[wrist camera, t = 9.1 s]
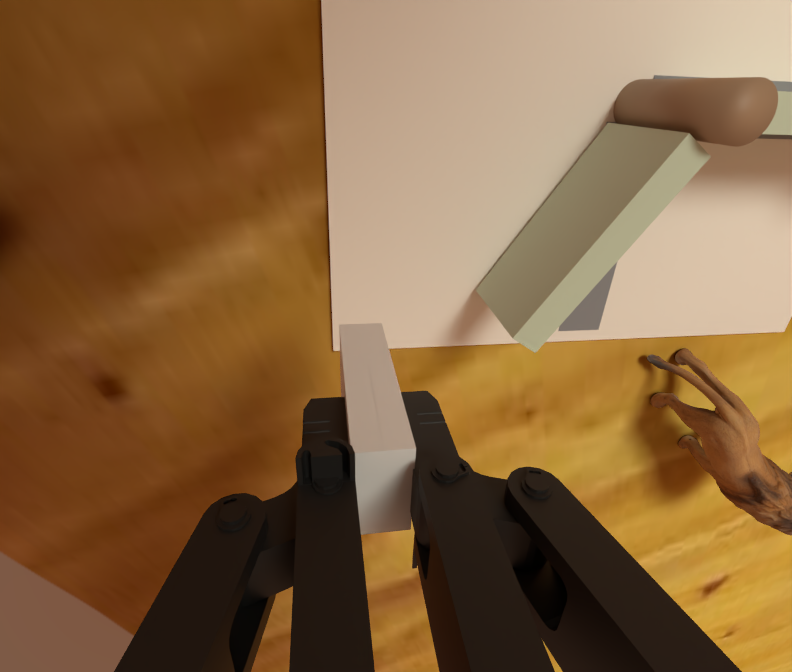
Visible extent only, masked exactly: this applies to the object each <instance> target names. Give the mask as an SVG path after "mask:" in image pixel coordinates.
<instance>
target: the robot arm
mask: <svg viewBox="0 0 792 672" xmlns="http://www.w3.org/2000/svg"><path fill="white" fill-rule="evenodd" d="M339 332H340V369H341V395H342V397H333V398H317V399H311V400H310V401H309V403H308V404H307V406H306V407H305V409H304V413H303V436H302V447H301V448H300V449H299V450H298V452H297V455H296V458H295V459H296V470H297V482H296V483H295V484H294V485H293V487H292V488H291V489H289V490H288V491H286V492H285V493H283V494H281V495H279V496H277V497H274V498H272V499H269V500H266V501H263V502H262V501H261V500H260V499H259V498H258V497H256V496H254V495H250V494H247V493H241V494H232V495H229V496H226V497H223V498H221V499H219V500H218V501H216V502H215V503H213V504H212V505H211V506H210V507H209V508H208V509H207V511H206V512H205V513H204V514H203V516H202V518H201V520H200V521H199V523H198V525H197V527H196V528H195V530H194V532H193V534H192V535H191V537H190V539H189V541H188V543H187V544H186V546H185V548H184V550H183V551H182V553H181V555H180V557H179V558H178V560H177V562H176V564H175V565H174V567H173V569H172V571H171V572H170V574H169V576H168V578H167V579H166V581H165V583H164V585H163V586H162V588H161V590H160V592H159V594H158V595H157V597H156V599H155V601H154V602H153V604H152V606H151V608H150V609H149V611H148V613H147V615H146V616H145V618H144V620H143V622H142V623H141V625H140V627H139V629H138V630H137V632H136V634H135V636H134V638H133V639H132V641H131V643H130V645H129V646H128V648H127V650H126V652H125V653H124V655H123V657H122V659H121V660H120V662H119V664H118V666H117V667H116V669H115V671H114V672H251V669H252V666H253V663H254V660H255V657H256V654H257V651H258V648H259V645H260V642H261V639H262V636H263V633H264V630H265V627H266V624H267V621H268V618H269V615H270V612H271V609H272V606H273V603H274V600H275V596H276V594H277V593H279V592H281V591H283V590H286V589H288V588H290V587H292V586H293V603H292V625H291V646H290V668H289V672H375V670H374V660H373V650H372V640H371V630H370V620H369V610H368V600H367V591H366V581H365V571H364V561H363V551H362V541H361V535H362V534H371V533H381V532H390V531H400V530H410V529H411V517H412V522H413V527H414V531H415V535H414V548H413V564H412V568H417V565H418V570H419V575H420V580H421V585H422V589H423V594H424V599H425V604H426V609H427V614H428V618H429V623H430V628H431V633H432V638H433V642H434V647H435V652H436V657H437V662H438V667H439V671H440V672H555V671H554V668H553V666H552V663H551V661H550V659H549V656H548V654H547V651H546V649H545V646H544V644H543V641H544V643H545V645H546V646H547V648H548V649H549V651H550V652H551V654H552V655H553V657H554V658H555V660H556V662H557V663H558V665H559V666H560V668H561V669H562V671H563V672H742V671H741V670H740V669H739V668H738V667H737V666H736V665H735V664H734V663H733V662H732V661H731V660H730V659H729V658H728V657H727V656H726V655H725V654H724V653H723V652H722V650H721V649H720V648H719V647H718V646H717V645H716V644H715V643H714V642H713V641H712V640H711V639H710V638H709V637H708V636H707V635H706V634H705V633H704V632H703V631H702V630H701V628H700V627H699V626H698V625H697V624H696V623H695V622H694V621H693V620H692V619H691V618H690V617H689V616H688V615H687V614H686V613H685V612H684V611H683V610H682V609H681V608H680V606H679V605H678V604H677V603H676V602H675V601H674V600H673V599H672V598H671V597H670V596H669V595H668V594H667V593H666V592H665V591H664V590H663V589H662V588H661V587H660V585H659V584H658V583H657V582H656V581H655V580H654V579H653V578H652V577H651V576H650V575H649V574H648V573H647V572H646V571H645V570H644V569H643V568H642V567H641V566H640V565H639V563H638V562H637V561H636V560H635V559H634V558H633V557H632V556H631V555H630V554H629V553H628V552H627V551H626V550H625V549H624V548H623V547H622V546H621V545H620V544H619V542H618V541H617V540H616V539H615V538H614V537H613V536H612V535H611V534H610V533H609V532H608V531H607V530H606V529H605V528H604V527H603V526H602V525H601V524H600V523H599V522H598V520H597V519H596V518H595V517H594V516H593V515H592V514H591V513H590V512H589V511H588V510H587V509H586V508H585V507H584V506H583V505H582V504H581V503H580V502H579V501H578V499H577V498H576V497H575V496H574V495H573V494H572V493H571V492H570V491H569V490H568V489H567V488H566V487H565V486H564V485H563V484H562V483H561V482H560V481H559V480H558V479H557V478H556V477H555V476H553V475H552V474H551V473H549V472H547V471H544V470H542V469H540V468H534V467H523V468H518V469H516V470H514V471H513V472H511V474H510V476H509V477H508V480H506V479H500V478H494V477H489V476H485V475H481V474H479V473H476V472H474V471H473V470H472V468H471V467H470V465H469V464H468V463H467V462H466V461H464V460H463V459H462V458H460V457H459V455H458V453H457V450H456V447H455V445H454V442H453V440H452V437H451V434H450V432H449V429H448V427H447V424H446V423H445V419H444V416H443V414H442V411H441V409H440V406H439V403H438V401H437V400H436V399H435V398H434V397H433V396H432V395H431V394H430V393H429V392H428V391H416V392H401V391H400V388H399V384H398V381H397V377H396V373H395V370H394V366H393V362H392V359H391V355H390V352H389V348H388V344H387V341H386V337H385V334H384V330H383V326H382V323H369V324H342V325H339ZM541 638H542V639H541ZM542 640H543V641H542Z"/></svg>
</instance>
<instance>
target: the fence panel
mask: <svg viewBox="0 0 792 672" xmlns="http://www.w3.org/2000/svg"><path fill="white" fill-rule="evenodd" d="M710 157H711V156H710V155H709V154H708V153H707V152H706V151H705V150H704V149H703V147H702V146H701V145H700V144H699V143H698V142H697V141H696V140H695V139H694V138H693V137H692V135H691V134H690V133H685V132H677V131H669V130H662V129H654V128H646V127H638V126H631V125H623V124H615V123H608V124H607V125H606V126H605V127H604V129H603V130H602V131H601V132H600V134H599V135H598V136H597V137H596V139H595V140H594V141H593V142H592V144H591V145H590V146H589V148H588V149H587V150H586V151H585V153H584V154H583V155H582V156H581V158H580V159H579V160H578V161H577V163H576V164H575V165H574V166H573V168H572V169H571V170H570V172H569V173H568V174H567V175H566V177H565V178H564V179H563V180H562V182H561V183H560V184H559V185H558V187H557V188H556V189H555V190H554V192H553V193H552V194H551V196H550V197H549V198H548V199H547V201H546V202H545V203H544V204H543V206H542V207H541V208H540V209H539V211H538V212H537V213H536V214H535V216H534V217H533V218H532V220H531V221H530V222H529V223H528V225H527V226H526V227H525V228H524V230H523V231H522V232H521V233H520V235H519V236H518V237H517V238H516V240H515V241H514V242H513V244H512V245H511V246H510V247H509V249H508V250H507V251H506V252H505V254H504V255H503V256H502V257H501V259H500V260H499V261H498V262H497V264H496V265H495V266H494V268H493V269H492V270H491V271H490V273H489V274H488V275H487V276H486V278H485V279H484V280H483V281H482V283H481V284H480V285H479V286H478V288H477V289H476V291H477V292H478V294H479V295H480V296H481V298H482V299H483V300H484V302H485V303H486V304H487V306H488V307H489V308H490V310H491V311H492V312H493V313H494V315H495V316H496V317H497V319H498V320H499V321H500V323H501V324H502V325H503V327H504V328H505V329H506V331H507V332H508V333H509V335H510V336H511V337H512V338H513V339H514V340H516V341H517V342H519V343H521V344H522V345H524V346H525V347H527V348H529V349H530V350H532V351H533V352H535V353H536V352H537V351H538V350H539V348H540V347H541V346H542V345H543V344H544V343H545V342H546V341H547V339H548V338H549V337H550V336H551V335H552V334H553V333H554V332H555V331H556V329H557V328H558V327H559V326H560V325H561V324H562V323H563V322H564V320H565V319H566V318H567V317H568V316H569V315H570V314H571V313H572V312H573V310H574V309H575V308H576V307H577V306H578V305H579V304H580V303H581V301H582V300H583V299H584V298H585V297H586V296H587V295H588V294H589V293H590V291H591V290H592V289H593V288H594V287H595V286H596V285H597V284H598V282H599V281H600V280H601V279H602V278H603V277H604V276H605V275H606V274H607V272H608V271H609V270H610V269H611V268H612V267H613V266H614V265H615V263H616V262H617V261H618V260H619V259H620V258H621V257H622V256H623V255H624V253H625V252H626V251H627V250H628V249H629V248H630V247H631V246H632V244H633V243H634V242H635V241H636V240H637V239H638V238H639V237H640V236H641V234H642V233H643V232H644V231H645V230H646V229H647V228H648V227H649V225H650V224H651V223H652V222H653V221H654V220H655V219H656V218H657V217H658V215H659V214H660V213H661V212H662V211H663V210H664V209H665V208H666V206H667V205H668V204H669V203H670V202H671V201H672V200H673V199H674V198H675V196H676V195H677V194H678V193H679V192H680V191H681V190H682V189H683V187H684V186H685V185H686V184H687V183H688V182H689V181H690V180H691V179H692V177H693V176H694V175H695V174H696V173H697V172H698V171H699V170H700V168H701V167H702V166H703V165H704V164H705V163H706V162H707V161H708V159H709V158H710Z"/></svg>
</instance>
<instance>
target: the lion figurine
mask: <svg viewBox="0 0 792 672" xmlns="http://www.w3.org/2000/svg"><path fill="white" fill-rule="evenodd" d="M647 360H648V361H649V362H650V363H652V364H654V365H655V366H656V367H658V368H660V369H664V370H668V371H671V372H673V373H675V374H677V375H679V376H681V377H682V378H684V379H685V380H687V381H688V382H689V383H691V384H692V385H694V386H695V387H696V388H697V389H698V390H700V391H701V392H702V393H703V394H704V395H705V396H706V397H707V398H708V399H709V400H710V401H711V402H712V403H713V404H714V405H715V406H716V408H715V411H711V410H708V409H703V408H696V407H693V406H690V405H687V404H684V403H683V402H681V401H680V400H679V399H678V397H677V396H675V395H674V394H673V393H657V394H655V395H654V396H653V397H652V398H651V405H652V406H654V407H657V408H660V407H664V406H665V405H666V404H667V405H669V406H670V407H671V408H672V409H673V410H674V411H675V412H676V414H677V415H678V416H679V417H680V418H681V420H682V421H683V422H684V423H685V424H686V425H687V426H688V427H689V428H691V429H693V430H694V431H695V432H696V433H697V434H698V435H699V436H700V437H701V438H702V439H701V441H702V446H703V448H702V447H701V446H700V444H699V442H698V441H697V439H696V438H693V437H692V436H690V435H688V436H684V437H682V438H681V440H680V441H679V443H678V444H679V446H680V447H681V448H688V449H689V450H690V452H691V453H692V455H693V456H694V458H695V459H696V460H697V461H698V462H699V464H700V465H701V467H702V468H703V469H704V470H706V471H707V472H708V473H710V474H711V475H712V476H713V478H714V479H715V480H716V483H717V485H718V486H719V488H720V490H721V492H722V493H723V494H724V495H725V497H726V498H727V499H729V500H730V501H731V502H733V503H734V504H735V506H737V507H738V508H740V509H743V510H745V511H746V512H747V513H749V514H750V515H751V516H753V517H754V518H755V519H756V520H757V521H759V522H761V523H763V524H766V525H769V526H771V527H772V528H774V529H777V530H779V531H781V532H783V533H785V534H788V535H792V472H791V473H789V474H788V473H786V472H785V471H784V470H781V469H780V468H779V467H778V466H777V465H776V464H775V463H774V462H773V461H772V460H770V459H768V458H767V457H766V456H764V455H763V454H762V453H761V450H760V448H759V447H758V445H757V443H758V441H759V436H760V430H759V424H758V422H757V420H756V419H755V417H754V416H753V415H752V413H751V412H750V410H749V409H748V408H747V406H746V405H745V404H744V403H743V401H742V400H741V399H740V398H739V397H738V396H737V395H735V394H734V393H733V392H731V391H730V390H729V389H728V388H727V387H725V386H724V385H723V384H722V383H721V382H720V381H719V380H718V379H717V378H716V377H715V376H714V375H713V374H712V372H711V371H710V370H709V369H708V367H707V365H706V364H705V363H704V362H703V361H701V360H699V359H698V358H696V357H695V356H693V355H692V353H691V352H690V351H689V350H688V349H686V348H684V349H682V350H680V351H679V352H678V353H677V354H676V356H675V360H676V361H677V363H679V364H680V365H688V366H689V367H690V368H691V369H692V370H693V371H694V372H695V373H696V374H697V375H698V376H699V377H700V378H701V379H702V380H703V381H704V382H705V383H704V382H703V381H702V380H701V379H699V378H698V377H697V376H695V375H693V374H692V373H690V372H688V371H686V370H684V369H682V368H680V367H678V366H676V365H673V364H670V363H668V362H666V361H664V360H662V359H661V358H660V357H659V356H655V355H649V356H648V357H647Z"/></svg>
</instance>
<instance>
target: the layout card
mask: <svg viewBox="0 0 792 672" xmlns="http://www.w3.org/2000/svg"><path fill="white" fill-rule="evenodd" d="M321 8H322V37H323V66H324V95H325V124H326V153H327V183H328V212H329V241H330V270H331V299H332V328H333V351H340V332H339V325H342V324H369V323H382V326H383V330H384V334H385V337H386V341H387V344H388V348H389V349H392V348H416V347H439V346H463V345H486V344H510V343H519V342H517V341H516V340H514V339H513V338H512V337H511V336H510V335H509V333H508V332H507V331H506V329H505V328H504V327H503V325H502V324H501V323H500V321H499V320H498V319H497V317H496V316H495V315H494V313H493V312H492V311H491V310H490V308H489V307H488V306H487V304H486V303H485V302H484V300H483V299H482V298H481V296H480V295H479V294H478V292H477V291H476V289H477V288H478V286H479V285H480V284H481V283H482V281H483V280H484V279H485V278H486V276H487V275H488V274H489V273H490V271H491V270H492V269H493V268H494V266H495V265H496V264H497V262H498V261H499V260H500V259H501V257H502V256H503V255H504V254H505V252H506V251H507V250H508V249H509V247H510V246H511V245H512V244H513V242H514V241H515V240H516V238H517V237H518V236H519V235H520V233H521V232H522V231H523V230H524V228H525V227H526V226H527V225H528V223H529V222H530V221H531V220H532V218H533V217H534V216H535V214H536V213H537V212H538V211H539V209H540V208H541V207H542V206H543V204H544V203H545V202H546V201H547V199H548V198H549V197H550V196H551V194H552V193H553V192H554V190H555V189H556V188H557V187H558V185H559V184H560V183H561V182H562V180H563V179H564V178H565V177H566V175H567V174H568V173H569V172H570V170H571V169H572V168H573V166H574V165H575V164H576V163H577V161H578V160H579V159H580V158H581V156H582V155H583V154H584V153H585V151H586V150H587V149H588V148H589V146H590V145H591V144H592V142H593V141H594V140H595V139H596V137H597V136H598V135H599V134H600V132H601V131H602V130H603V129H604V127H605V126H606V125H607V124H608V123H615V124H617V123H616V122H615V119H614V113H613V111H614V104H615V101H616V98H617V96H618V95H619V93H620V91H621V90H622V89H623V88H624V87H625V86H626V85H627V84H629V83H630V82H632V81H635V80H638V79H680V78H736V77H764V78H767V79H769V80H771V81H772V82H773V83H774V85H775V86H776V89H777V91H786V92H792V0H321ZM697 142H698V143H699V144H700V145H701V146H702V147H703V149H704V150H705V151H706V152H707V153H708V154H709V155H710V156H711V157H710V158H709V159H708V161H707V162H706V163H705V164H704V165H703V166H702V167H701V168H700V170H699V171H698V172H697V173H696V174H695V175H694V176H693V177H692V179H691V180H690V181H689V182H688V183H687V184H686V185H685V186H684V187H683V189H682V190H681V191H680V192H679V193H678V194H677V195H676V196H675V198H674V199H673V200H672V201H671V202H670V203H669V204H668V205H667V206H666V208H665V209H664V210H663V211H662V212H661V213H660V214H659V215H658V217H657V218H656V219H655V220H654V221H653V222H652V223H651V224H650V225H649V227H648V228H647V229H646V230H645V231H644V232H643V233H642V234H641V236H640V237H639V238H638V239H637V240H636V241H635V242H634V243H633V244H632V246H631V247H630V248H629V249H628V250H627V251H626V252H625V253H624V255H623V256H622V257H621V258H620V259H619V260H618V261H617V262H616V263H615V265H614V266H613V267H612V268H611V269H610V270H609V271H608V272H607V274H606V275H605V276H604V277H603V278H602V279H601V280H600V281H599V282H598V284H597V285H596V286H595V287H594V288H593V289H592V290H591V291H590V293H589V294H588V295H587V296H586V297H585V298H584V299H583V300H582V301H581V303H580V304H579V305H578V306H577V307H576V308H575V309H574V310H573V312H572V313H571V314H570V315H569V316H568V317H567V318H566V319H565V320H564V322H563V323H562V324H561V325H560V326H559V327H558V328H557V329H556V331H555V332H554V333H553V334H552V335H551V336H550V337H549V338H548V339H547V341H546V342H557V341H581V340H604V339H628V338H652V337H675V336H699V335H722V334H746V333H770V332H784V331H785V329H786V327H787V325H788V323H789V321H790V319H791V317H792V135H774V134H761V135H760V136H759V137H758V138H757V139H755V140H754V141H752V142H751V143H749V144H746V145H743V146H737V147H735V146H727V145H721V144H714V143H707V142H700V141H697Z"/></svg>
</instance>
